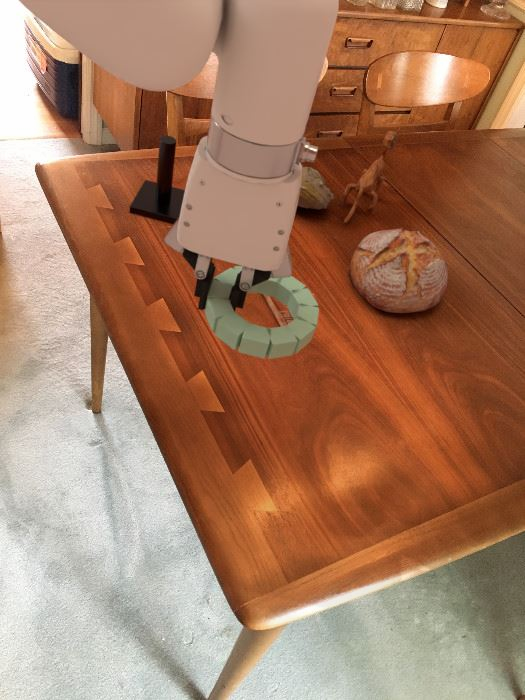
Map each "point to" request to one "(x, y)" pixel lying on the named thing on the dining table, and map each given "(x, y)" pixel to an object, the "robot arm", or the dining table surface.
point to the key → (279, 313)
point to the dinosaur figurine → (371, 177)
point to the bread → (399, 271)
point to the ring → (255, 336)
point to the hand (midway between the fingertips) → (218, 304)
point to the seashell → (313, 190)
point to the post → (160, 188)
